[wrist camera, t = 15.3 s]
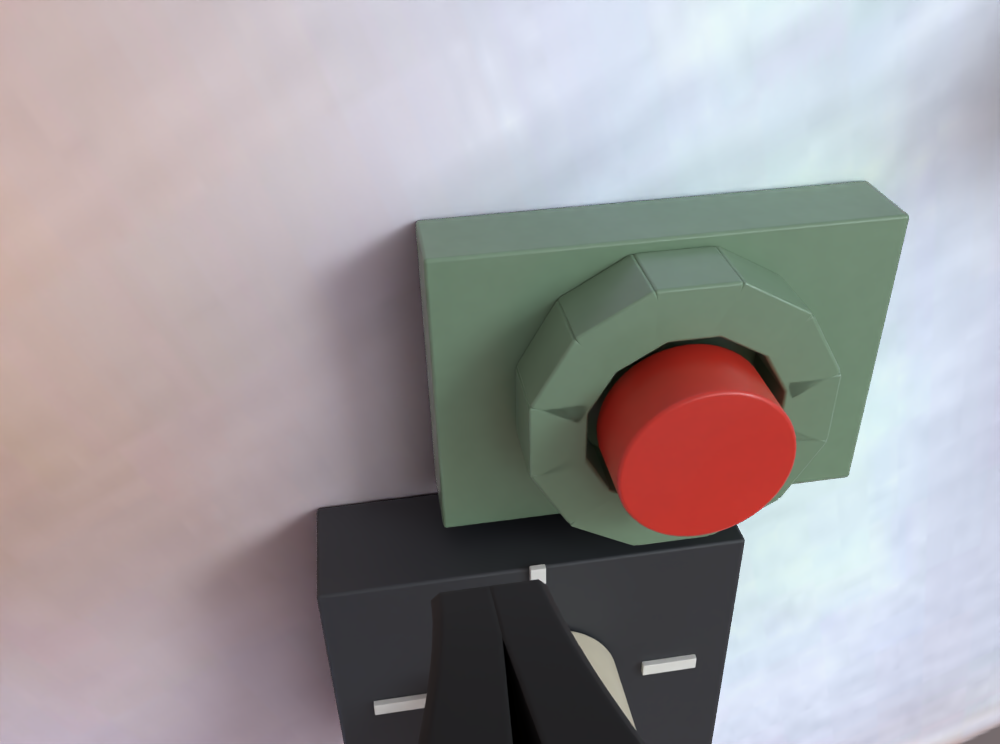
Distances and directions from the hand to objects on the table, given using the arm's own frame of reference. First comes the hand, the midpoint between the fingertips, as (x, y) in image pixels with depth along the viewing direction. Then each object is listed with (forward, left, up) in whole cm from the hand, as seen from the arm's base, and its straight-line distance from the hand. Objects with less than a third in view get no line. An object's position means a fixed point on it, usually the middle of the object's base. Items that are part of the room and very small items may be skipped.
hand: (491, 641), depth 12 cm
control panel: (+2, -10, -10) cm, 15 cm away
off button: (+5, -2, -7) cm, 9 cm away
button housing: (+5, -2, -10) cm, 12 cm away
